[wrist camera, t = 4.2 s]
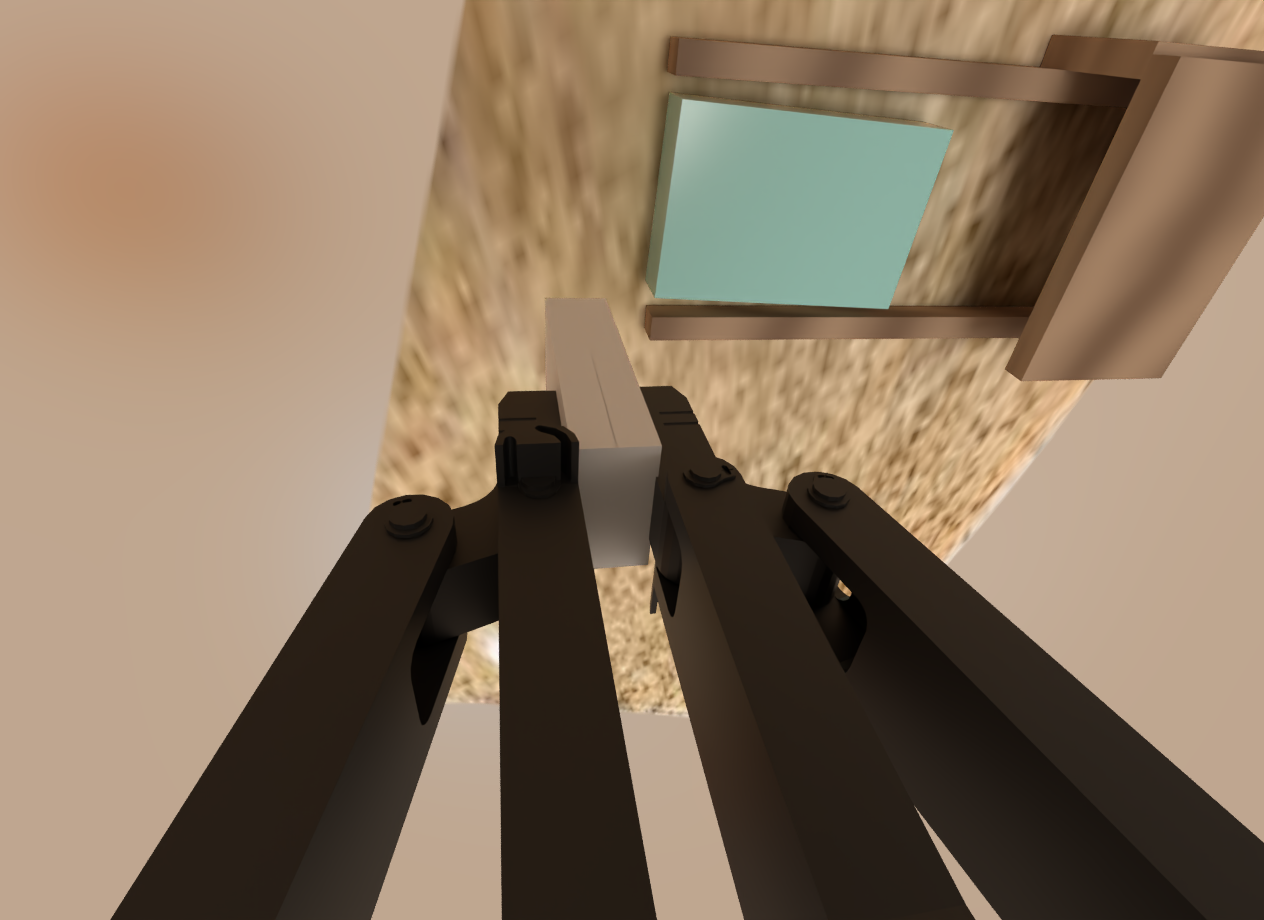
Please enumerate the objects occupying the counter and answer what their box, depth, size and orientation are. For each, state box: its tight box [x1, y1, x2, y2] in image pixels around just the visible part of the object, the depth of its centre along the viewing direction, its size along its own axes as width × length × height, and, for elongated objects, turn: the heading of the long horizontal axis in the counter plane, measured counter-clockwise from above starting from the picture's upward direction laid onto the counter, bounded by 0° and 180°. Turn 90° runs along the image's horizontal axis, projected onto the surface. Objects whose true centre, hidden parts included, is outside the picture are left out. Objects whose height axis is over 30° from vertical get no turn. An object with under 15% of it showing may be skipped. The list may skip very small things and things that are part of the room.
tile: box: [645, 92, 954, 309], centre depth 29 cm, size 12×8×3 cm, turn 83°
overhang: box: [644, 35, 1264, 381], centre depth 28 cm, size 25×14×7 cm, turn 86°
